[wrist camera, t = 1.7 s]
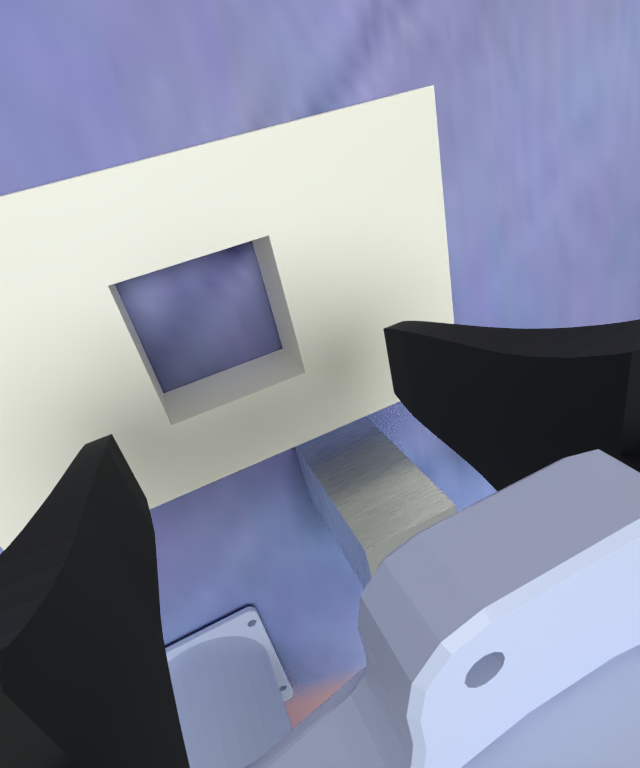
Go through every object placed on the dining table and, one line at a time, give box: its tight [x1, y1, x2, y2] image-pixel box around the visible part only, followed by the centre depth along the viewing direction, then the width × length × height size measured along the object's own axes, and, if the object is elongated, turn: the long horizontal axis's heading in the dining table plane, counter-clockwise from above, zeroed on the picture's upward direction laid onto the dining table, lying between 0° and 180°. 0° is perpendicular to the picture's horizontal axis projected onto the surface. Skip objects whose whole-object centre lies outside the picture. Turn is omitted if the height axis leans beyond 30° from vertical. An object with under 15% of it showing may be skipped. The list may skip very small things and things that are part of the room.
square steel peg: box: [295, 416, 456, 588], centre depth 22 cm, size 4×4×8 cm
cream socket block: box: [0, 85, 454, 550], centre depth 19 cm, size 12×20×3 cm, turn 104°
